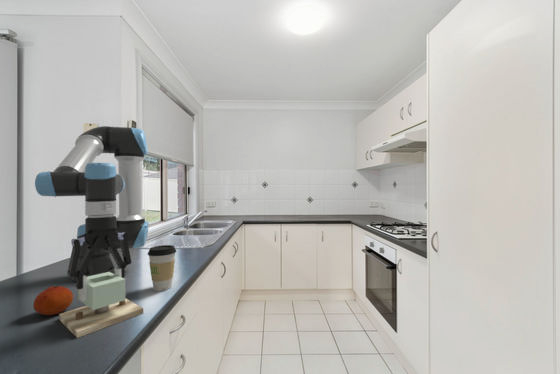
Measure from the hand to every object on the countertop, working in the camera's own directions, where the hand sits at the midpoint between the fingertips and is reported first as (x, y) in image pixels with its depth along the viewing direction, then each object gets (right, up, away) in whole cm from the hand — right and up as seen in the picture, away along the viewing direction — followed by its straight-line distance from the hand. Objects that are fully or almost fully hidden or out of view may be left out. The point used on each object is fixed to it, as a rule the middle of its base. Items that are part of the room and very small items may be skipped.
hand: (101, 294), depth 76 cm
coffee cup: (+8, -7, +22) cm, 24 cm away
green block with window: (0, -2, 0) cm, 2 cm away
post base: (0, -6, 0) cm, 6 cm away
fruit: (-16, -7, +3) cm, 18 cm away
